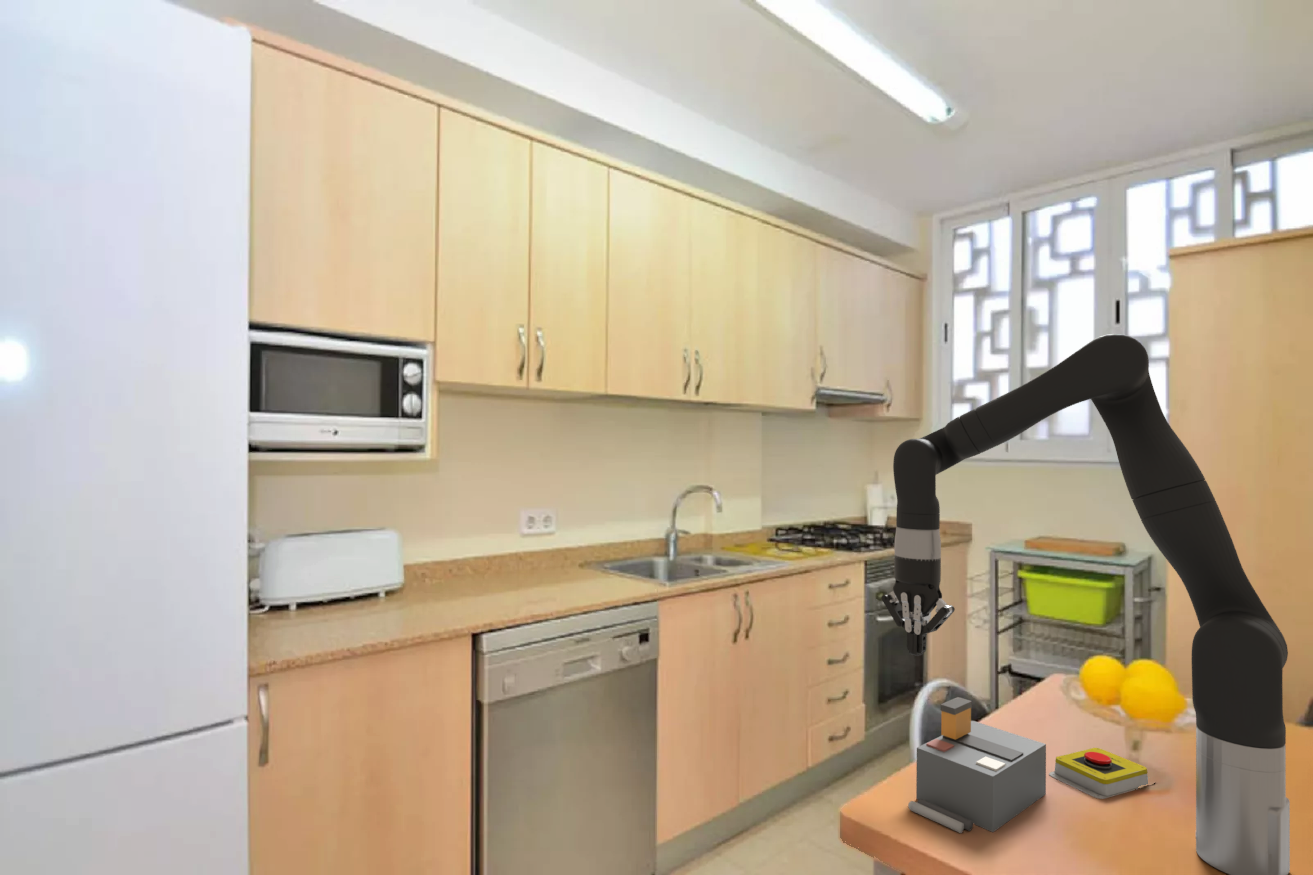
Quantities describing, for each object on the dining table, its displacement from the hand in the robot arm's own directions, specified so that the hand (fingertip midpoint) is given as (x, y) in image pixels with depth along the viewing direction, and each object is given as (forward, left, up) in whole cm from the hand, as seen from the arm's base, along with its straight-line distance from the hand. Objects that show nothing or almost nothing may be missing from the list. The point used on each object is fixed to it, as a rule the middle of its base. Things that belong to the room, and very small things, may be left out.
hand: (916, 654), depth 119 cm
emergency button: (-21, -22, -21) cm, 37 cm away
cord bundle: (-12, +12, -20) cm, 26 cm away
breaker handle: (-7, 0, -11) cm, 13 cm away
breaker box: (-12, 0, -20) cm, 23 cm away
